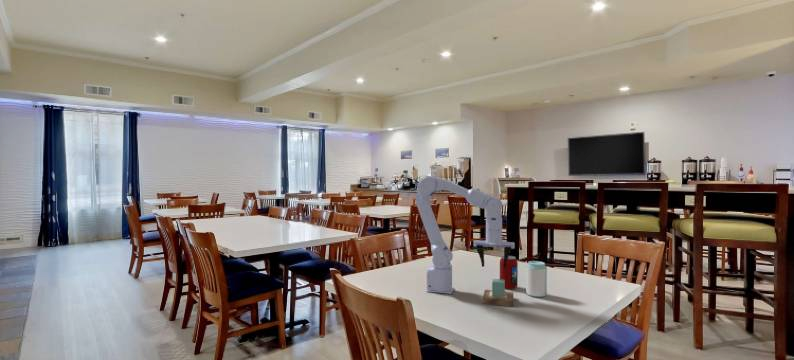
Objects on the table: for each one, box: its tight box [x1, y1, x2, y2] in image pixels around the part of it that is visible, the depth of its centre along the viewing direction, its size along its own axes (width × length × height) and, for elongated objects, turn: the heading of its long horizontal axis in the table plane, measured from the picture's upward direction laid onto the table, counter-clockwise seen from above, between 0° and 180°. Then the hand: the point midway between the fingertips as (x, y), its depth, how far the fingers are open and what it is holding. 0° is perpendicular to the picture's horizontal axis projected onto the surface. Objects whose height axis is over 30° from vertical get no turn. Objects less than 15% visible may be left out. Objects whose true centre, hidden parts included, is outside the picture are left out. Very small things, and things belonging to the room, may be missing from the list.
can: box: [525, 260, 548, 298], centre depth 142 cm, size 7×7×12 cm
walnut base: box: [482, 289, 514, 307], centre depth 135 cm, size 10×10×2 cm
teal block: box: [491, 278, 506, 297], centre depth 135 cm, size 4×4×5 cm
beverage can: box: [499, 255, 519, 290], centre depth 151 cm, size 7×7×12 cm
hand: (493, 266), depth 141 cm, fingers open, 7 cm apart
